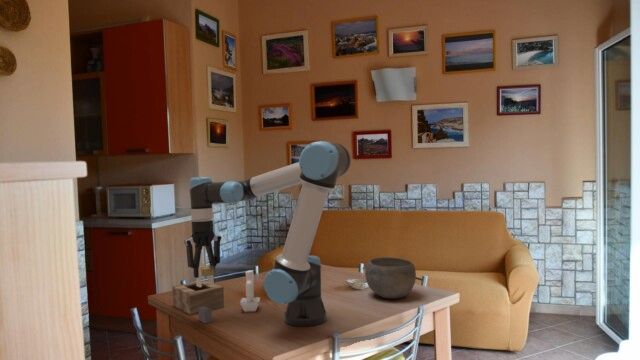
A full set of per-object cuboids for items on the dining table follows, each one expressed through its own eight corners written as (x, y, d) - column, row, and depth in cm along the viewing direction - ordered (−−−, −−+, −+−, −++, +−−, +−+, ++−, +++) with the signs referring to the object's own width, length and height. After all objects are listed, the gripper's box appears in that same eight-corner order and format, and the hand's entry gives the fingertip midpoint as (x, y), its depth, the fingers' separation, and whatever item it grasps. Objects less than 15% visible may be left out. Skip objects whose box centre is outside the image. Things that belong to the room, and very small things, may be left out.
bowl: (426, 299, 185) (425, 262, 184) (381, 306, 177) (380, 268, 177) (398, 287, 204) (398, 254, 204) (357, 293, 196) (356, 258, 196)
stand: (211, 321, 163) (211, 309, 163) (205, 323, 161) (204, 310, 161) (205, 318, 167) (204, 306, 167) (198, 320, 165) (198, 307, 165)
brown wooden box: (223, 307, 180) (223, 287, 180) (190, 315, 171) (189, 294, 171) (205, 299, 192) (204, 280, 192) (173, 306, 183) (172, 286, 183)
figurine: (239, 313, 171) (238, 274, 171) (242, 306, 181) (241, 268, 181) (259, 313, 172) (257, 273, 172) (260, 305, 181) (259, 268, 181)
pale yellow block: (215, 274, 162) (214, 267, 162) (204, 276, 159) (204, 269, 159) (204, 271, 168) (204, 264, 168) (194, 273, 165) (194, 266, 165)
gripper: (218, 217, 172) (221, 279, 172) (175, 222, 160) (178, 288, 161) (228, 218, 166) (231, 282, 166) (184, 223, 155) (187, 291, 155)
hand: (205, 285), depth 164 cm, fingers closed on pale yellow block, 4 cm apart
